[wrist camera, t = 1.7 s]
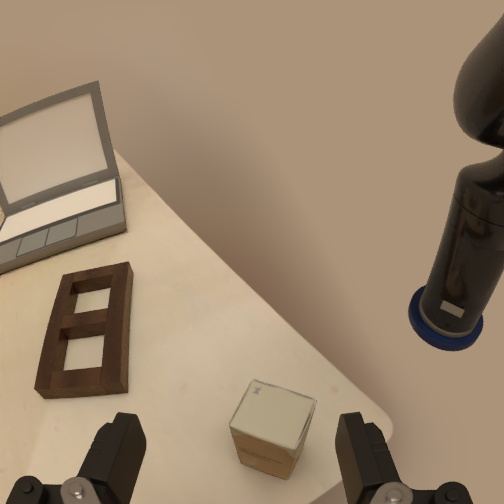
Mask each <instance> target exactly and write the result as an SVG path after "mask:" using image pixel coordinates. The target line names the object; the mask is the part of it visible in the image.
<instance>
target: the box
mask: <svg viewBox="0 0 504 504" xmlns="http://www.w3.org/2000/svg"><path fill="white" fill-rule="evenodd" d="M316 403H317V400H316V399H315V398H313V397H309V396H306V395H303V394H300V393H297V392H294V391H290V390H287V389H284V388H281V387H278V386H275V385H271V384H268V383H265V382H262V381H259V380H256V379H252V381H251V383H250V385H249V386H248V388H247V390H246V392H245V393H244V395H243V397H242V399H241V401H240V403H239V405H238V407H237V409H236V410H235V412H234V414H233V416H232V419H231V420H230V422H229V427H230V430H231V433H232V437H233V440H234V443H235V446H236V450H237V453H238V456H239V459H240V462H241V463H242V464H244V465H246V466H249V467H251V468H254V469H256V470H259V471H262V472H264V473H267V474H270V475H273V476H276V477H279V478H282V479H285V480H288V479H289V477H290V475H291V473H292V471H293V469H294V467H295V464H296V462H297V460H298V458H299V456H300V453H301V451H302V448H303V446H304V442H305V439H306V436H307V432H308V429H309V426H310V423H311V419H312V416H313V413H314V409H315V406H316Z"/></svg>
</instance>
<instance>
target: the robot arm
mask: <svg viewBox="0 0 504 504" xmlns="http://www.w3.org/2000/svg"><path fill="white" fill-rule="evenodd" d="M453 104H454V105H453V106H454V113H455V116H456V119H457V121H458V124H459V126H460V127H461V129H462V130H463V132H465V133H466V134H467V135H468V136H469V137H470V138H472V139H474V140H476V141H478V142H480V143H482V144H486V145H490V146H494V147H497V148H501V149H503V151H502V152H501V153H500V154H499V155H498V156H496V157H495V158H493V159H491V160H489V161H486V162H483V163H477V164H473V165H469V166H466V167H464V168H463V169H462V170H461V171H460V172H459V174H458V177H457V180H456V185H455V189H454V194H453V198H452V202H451V206H450V210H449V214H448V218H447V221H446V225H445V229H444V233H443V236H442V239H441V243H440V246H439V249H438V252H437V255H436V259H435V261H434V264H433V267H432V270H431V273H430V276H429V279H428V281H427V284H426V287H425V290H424V292H423V294H422V296H421V299H420V301H419V312H420V315H421V317H422V319H423V321H424V322H425V323H426V324H427V325H428V326H429V327H430V328H431V329H432V330H433V331H435V332H437V333H438V334H440V335H443V336H446V337H451V338H460V337H464V336H466V335H468V334H470V333H471V332H472V331H473V329H474V328H475V326H476V324H477V322H478V319H479V318H480V316H481V314H482V312H483V310H484V309H485V307H486V305H487V303H488V301H489V299H490V297H491V295H492V293H493V291H494V289H495V287H496V285H497V283H498V281H499V279H500V277H501V275H502V272H503V270H504V14H503V15H502V17H501V18H500V19H499V21H498V22H497V23H496V25H495V26H494V27H493V28H492V29H491V30H490V31H489V32H488V34H487V35H486V36H485V37H484V38H483V39H482V40H481V42H480V43H479V44H478V45H477V46H476V47H475V48H474V50H473V51H472V52H471V53H470V55H469V56H468V58H467V59H466V60H465V62H464V64H463V66H462V67H461V70H460V72H459V74H458V77H457V80H456V84H455V89H454V97H453ZM335 448H336V454H337V458H338V462H339V466H340V471H341V475H342V479H343V484H344V488H345V492H346V497H347V502H348V504H473V502H472V500H471V497H470V495H469V492H468V490H467V488H466V487H465V486H464V485H462V484H461V483H458V482H447V483H444V484H442V485H441V486H440V487H439V488H438V489H437V490H414V489H411V488H409V487H408V486H407V485H405V484H403V483H402V481H401V480H400V478H399V475H398V473H397V470H396V467H395V465H394V462H393V459H392V457H391V454H390V451H389V450H388V447H387V444H386V443H385V439H384V436H383V433H382V431H381V430H380V429H379V428H378V427H377V426H376V425H375V424H374V423H373V422H372V423H366V424H364V421H363V418H362V415H361V413H360V412H354V413H346V414H341V415H340V418H339V423H338V428H337V433H336V438H335ZM145 451H146V437H145V435H144V432H143V429H142V427H141V424H140V421H139V419H138V416H137V415H136V414H129V413H121V412H118V413H117V414H116V416H115V419H114V421H113V423H106V424H105V425H103V426H102V427H101V428H100V429H99V430H98V432H97V434H96V436H95V438H94V441H93V443H92V445H91V449H89V451H88V453H87V455H86V457H85V460H84V462H83V464H82V466H81V468H80V471H79V473H78V475H77V476H76V477H73V478H70V479H68V480H66V481H65V482H64V483H63V484H62V485H49V484H42V483H41V482H40V481H39V480H38V479H37V478H36V477H33V476H23V477H21V478H19V479H18V480H17V481H16V483H15V484H14V487H13V489H12V491H11V493H10V495H9V497H8V499H7V502H6V504H130V500H131V497H132V494H133V490H134V487H135V484H136V480H137V477H138V474H139V471H140V467H141V464H142V461H143V458H144V455H145Z"/></svg>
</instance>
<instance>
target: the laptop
mask: <svg viewBox="0 0 504 504" xmlns="http://www.w3.org/2000/svg"><path fill="white" fill-rule="evenodd" d="M0 205H1V208H2V210H3V212H4V215H5V219H4V220H3V222H2V224H1V226H0V274H2V273H5V272H8V271H10V270H13V269H16V268H18V267H21V266H24V265H26V264H29V263H32V262H35V261H38V260H40V259H43V258H46V257H49V256H52V255H55V254H58V253H60V252H63V251H66V250H69V249H72V248H75V247H78V246H81V245H84V244H87V243H90V242H93V241H96V240H99V239H102V238H106V237H109V236H112V235H115V234H118V233H121V232H123V231H124V230H125V229H126V221H125V214H124V206H123V197H122V188H121V179H120V176H119V172H118V168H117V164H116V160H115V156H114V152H113V148H112V143H111V139H110V135H109V131H108V126H107V121H106V117H105V112H104V107H103V102H102V97H101V92H100V87H99V81H95V82H91V83H88V84H85V85H82V86H79V87H76V88H73V89H70V90H67V91H64V92H61V93H58V94H55V95H53V96H50V97H47V98H45V99H42V100H40V101H37V102H34V103H32V104H29V105H27V106H25V107H22V108H20V109H18V110H15V111H13V112H11V113H8V114H6V115H4V116H2V117H0Z"/></svg>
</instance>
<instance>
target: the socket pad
mask: <svg viewBox="0 0 504 504" xmlns="http://www.w3.org/2000/svg"><path fill="white" fill-rule="evenodd" d="M132 282H133V271H132V268H131V266H130V263H129V262H124V263H119V264H115V265H109V266H104V267H99V268H94V269H89V270H84V271H79V272H74V273H70V274H65V275H63V276H62V279H61V282H60V286H59V289H58V292H57V295H56V299H55V302H54V305H53V309H52V313H51V316H50V320H49V324H48V327H47V331H46V335H45V339H44V343H43V348H42V352H41V357H40V361H39V366H38V371H37V376H36V381H35V387H34V389H35V390H36V391H37V392H38V393H39V394H40V395H41V396H42V397H43V398H44V399H52V398H72V397H87V396H99V395H109V394H120V393H128V349H129V325H130V308H131V294H132ZM110 287H111V290H110V297H109V304H108V308H105V309H100V310H94V311H88V312H82V313H76V314H74V309H75V305H76V301H77V296H78V293H83V292H88V291H94V290H99V289H105V288H110ZM98 335H105V337H104V347H103V358H102V367H95V368H86V369H76V370H65V371H63V366H64V360H65V354H66V349H67V343H68V340H69V339H77V338H84V337H91V336H98Z"/></svg>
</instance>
